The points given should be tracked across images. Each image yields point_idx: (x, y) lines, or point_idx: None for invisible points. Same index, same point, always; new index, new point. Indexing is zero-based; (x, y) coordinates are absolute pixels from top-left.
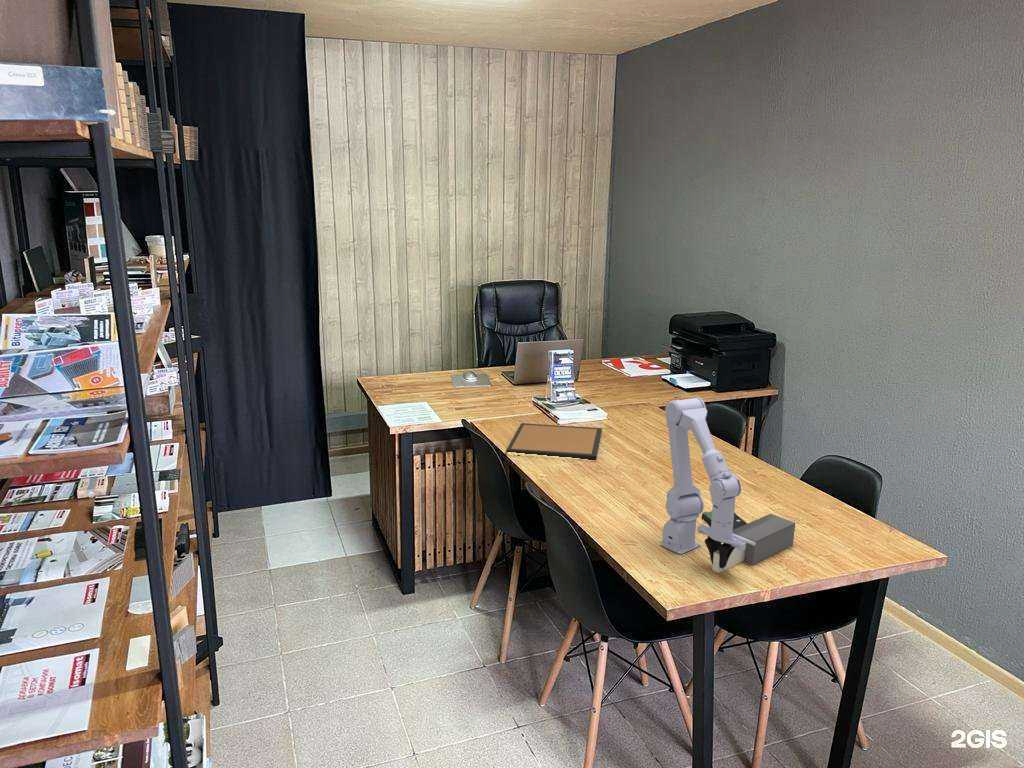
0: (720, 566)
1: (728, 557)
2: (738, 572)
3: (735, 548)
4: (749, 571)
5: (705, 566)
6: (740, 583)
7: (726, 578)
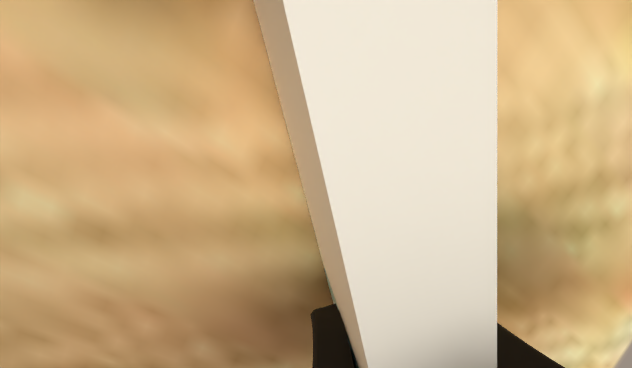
0: None
1: (515, 345)
2: None
3: (481, 186)
4: (549, 6)
5: (253, 334)
6: (603, 231)
7: None
